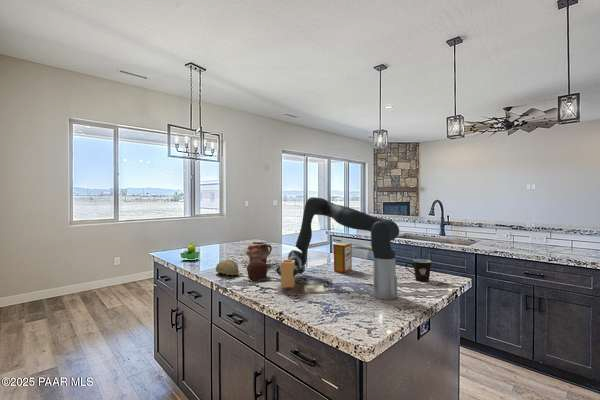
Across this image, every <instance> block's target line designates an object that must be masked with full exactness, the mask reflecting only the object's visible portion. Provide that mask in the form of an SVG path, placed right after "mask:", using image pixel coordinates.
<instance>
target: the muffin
mask: <svg viewBox="0 0 600 400" xmlns="http://www.w3.org/2000/svg"><path fill="white" fill-rule="evenodd" d="M268 269H269V266H268V264H267V262H266V263H265V262H263V261H260V260H255V261H252V262H250V261H249V263H248V265H246V271H247V277H248V280H249V279H250V280H253V281H255V280H262V279H266V278H267V275H268Z"/></svg>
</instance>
